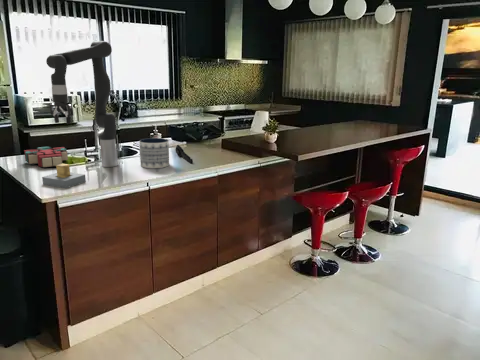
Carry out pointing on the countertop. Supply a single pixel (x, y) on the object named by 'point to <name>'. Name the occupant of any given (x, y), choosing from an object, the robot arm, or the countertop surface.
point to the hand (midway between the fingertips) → (62, 123)
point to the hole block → (64, 180)
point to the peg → (63, 170)
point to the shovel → (183, 154)
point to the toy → (46, 156)
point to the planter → (154, 152)
